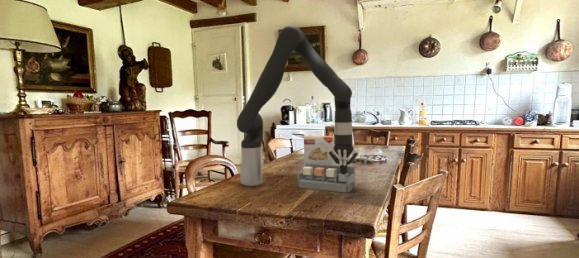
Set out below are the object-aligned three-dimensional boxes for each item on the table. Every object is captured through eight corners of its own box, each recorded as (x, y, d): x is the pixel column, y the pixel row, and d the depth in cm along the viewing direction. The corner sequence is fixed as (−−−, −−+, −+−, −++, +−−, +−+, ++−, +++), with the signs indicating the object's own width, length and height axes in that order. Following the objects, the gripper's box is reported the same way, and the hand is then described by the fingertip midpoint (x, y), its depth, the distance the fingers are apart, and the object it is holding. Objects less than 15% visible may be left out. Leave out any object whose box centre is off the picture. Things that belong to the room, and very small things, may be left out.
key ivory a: (302, 174, 146) (302, 167, 146) (306, 173, 149) (305, 166, 149) (310, 175, 144) (310, 168, 144) (313, 173, 147) (313, 167, 147)
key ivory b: (326, 176, 141) (326, 169, 141) (329, 175, 144) (328, 168, 144) (333, 177, 139) (333, 170, 139) (336, 175, 142) (336, 168, 142)
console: (297, 187, 145) (297, 167, 144) (306, 182, 153) (306, 163, 153) (348, 192, 134) (348, 171, 133) (354, 186, 143) (354, 166, 142)
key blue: (338, 181, 139) (338, 174, 138) (341, 179, 142) (341, 172, 141) (346, 182, 137) (346, 175, 137) (348, 180, 140) (348, 173, 140)
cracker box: (304, 179, 159) (303, 136, 157) (307, 176, 165) (306, 135, 163) (332, 180, 155) (332, 136, 153) (334, 177, 161) (334, 135, 159)
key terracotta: (314, 175, 143) (314, 168, 143) (317, 174, 147) (317, 167, 146) (321, 176, 142) (321, 169, 142) (324, 174, 145) (324, 167, 145)
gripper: (325, 133, 137) (326, 174, 139) (356, 134, 131) (356, 177, 133) (331, 132, 144) (332, 171, 145) (361, 132, 138) (361, 173, 139)
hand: (343, 173), depth 139 cm, fingers closed
